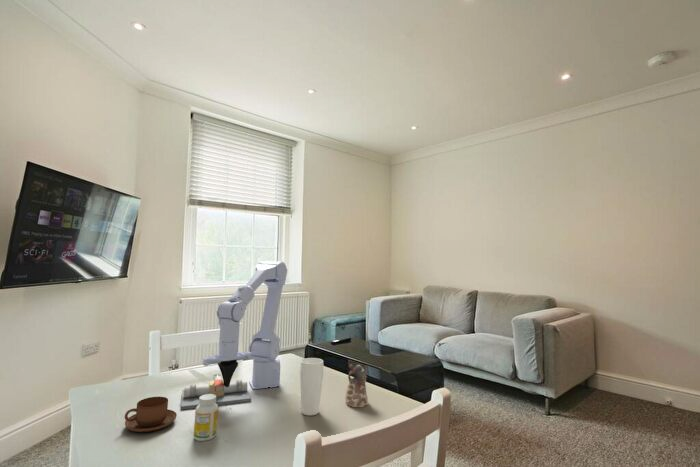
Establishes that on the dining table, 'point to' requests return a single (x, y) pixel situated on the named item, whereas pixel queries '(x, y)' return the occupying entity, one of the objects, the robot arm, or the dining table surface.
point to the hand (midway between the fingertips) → (226, 386)
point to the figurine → (356, 387)
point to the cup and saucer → (150, 415)
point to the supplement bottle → (206, 418)
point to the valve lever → (218, 383)
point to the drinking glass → (311, 385)
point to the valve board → (218, 400)
